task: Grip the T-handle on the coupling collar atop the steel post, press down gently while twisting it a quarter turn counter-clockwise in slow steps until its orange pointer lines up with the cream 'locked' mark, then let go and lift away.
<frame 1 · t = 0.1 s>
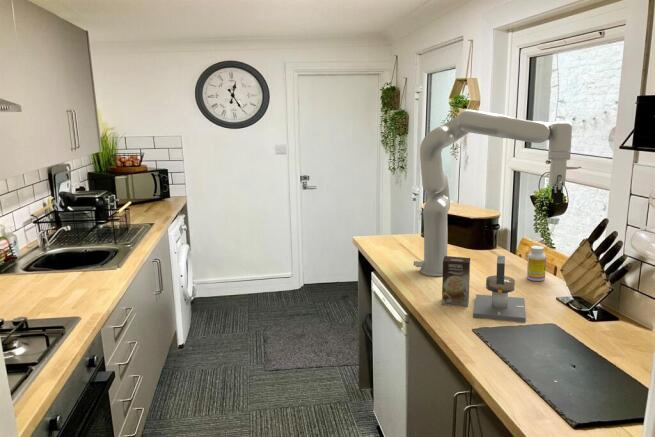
hand: (556, 201, 194), 31 cm above the worktop, fingers open, 9 cm apart
post base: (499, 309, 174), on the worktop
supplement bottle: (535, 279, 203), on the worktop
coffee box: (455, 303, 181), on the worktop
coupling collar: (500, 275, 170), point 13 cm above the worktop, hinge at 0.0°
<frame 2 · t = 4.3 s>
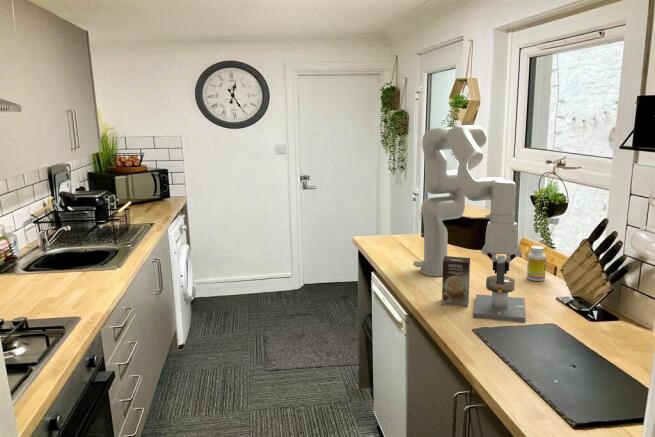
hand: (500, 272, 171), 13 cm above the worktop, fingers closed on coupling collar, 2 cm apart
coupling collar: (500, 275, 170), point 13 cm above the worktop, hinge at 0.0°, touching gripper
everything else where it was.
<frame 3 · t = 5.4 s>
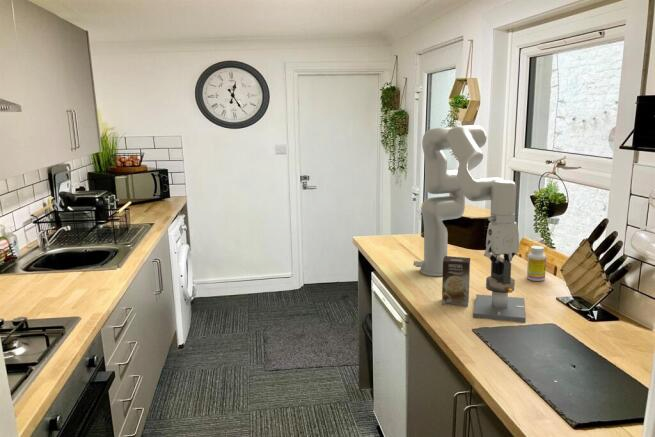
hand: (501, 272, 171), 13 cm above the worktop, fingers closed on coupling collar, 3 cm apart
coupling collar: (502, 275, 170), point 13 cm above the worktop, hinge at 27.5°, touching gripper
everything else where it was.
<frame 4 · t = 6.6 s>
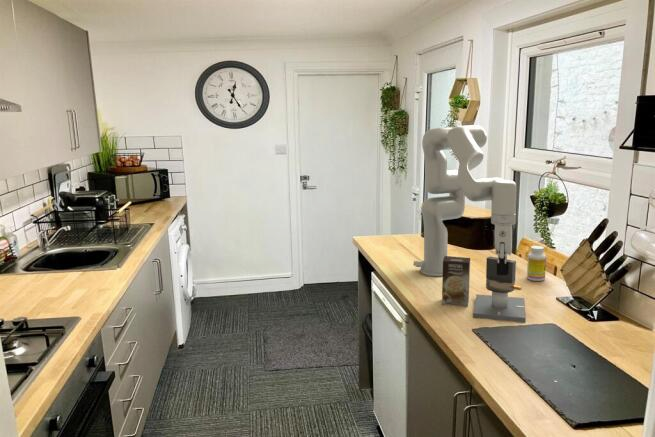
hand: (502, 272, 171), 13 cm above the worktop, fingers closed on coupling collar, 3 cm apart
coupling collar: (504, 274, 170), point 13 cm above the worktop, hinge at 66.2°, touching gripper
everything else where it was.
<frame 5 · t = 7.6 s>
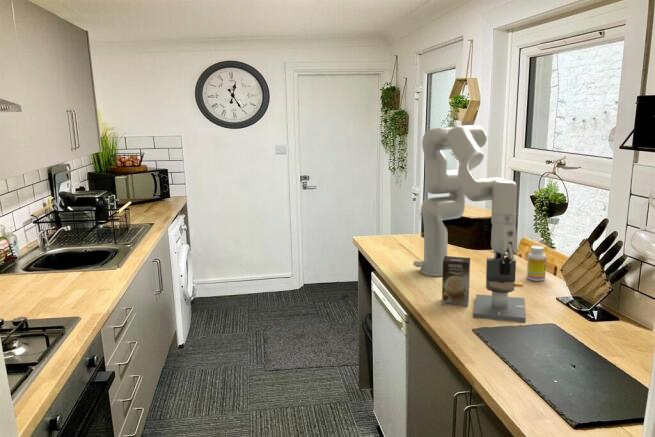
hand: (502, 272, 171), 13 cm above the worktop, fingers closed on coupling collar, 3 cm apart
coupling collar: (504, 274, 171), point 13 cm above the worktop, hinge at 96.6°, touching gripper
everything else where it was.
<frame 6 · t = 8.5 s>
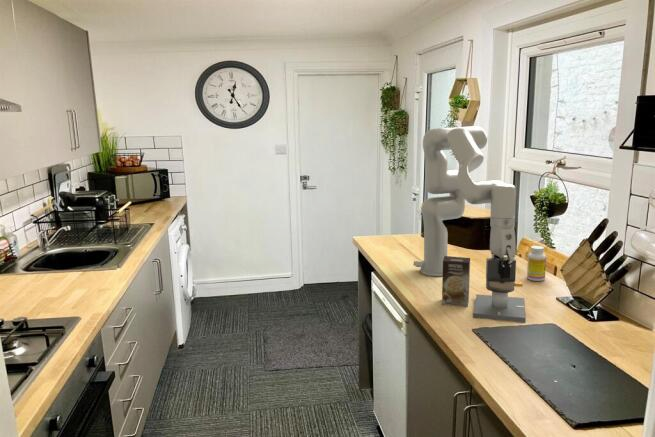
hand: (500, 274, 171), 12 cm above the worktop, fingers open, 5 cm apart
coupling collar: (504, 273, 171), point 13 cm above the worktop, hinge at 100.2°
everything else where it was.
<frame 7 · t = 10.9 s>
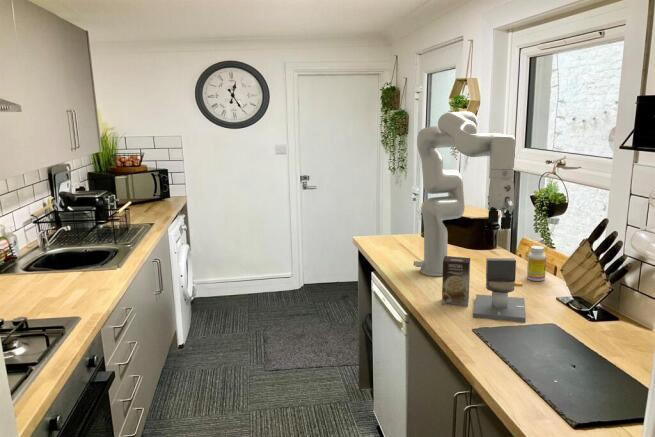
hand: (499, 225, 170), 29 cm above the worktop, fingers open, 9 cm apart
nothing on the worktop moved.
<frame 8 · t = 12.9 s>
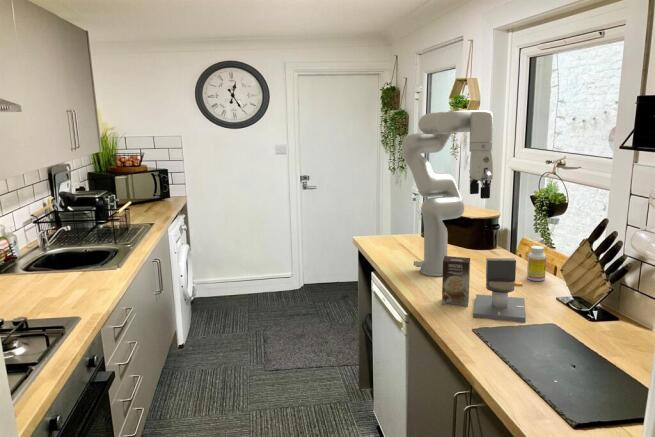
hand: (479, 196, 182), 36 cm above the worktop, fingers open, 9 cm apart
nothing on the worktop moved.
at the end: coupling collar at +100° (first picture: +0°); the gripper is holding nothing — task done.
